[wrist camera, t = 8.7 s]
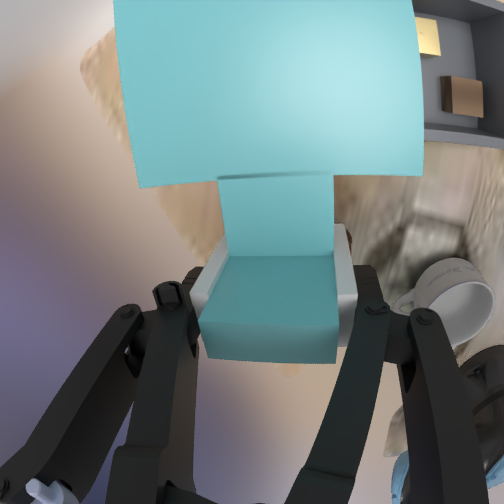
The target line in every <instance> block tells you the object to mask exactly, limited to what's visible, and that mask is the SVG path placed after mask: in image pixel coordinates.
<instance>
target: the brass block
mask: <svg viewBox="0 0 504 504" xmlns="http://www.w3.org/2000/svg"><path fill="white" fill-rule="evenodd" d="M415 22H416V29H417V36H418V44H419V52H420V57H425V58H434V57H438V56H441V52H440V44H439V36H438V29H437V23H436V20H432V19H426V18H420V17H415Z"/></svg>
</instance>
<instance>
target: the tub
mask: <svg viewBox="0 0 504 504" xmlns="http://www.w3.org/2000/svg"><path fill="white" fill-rule="evenodd" d="M412 5H413V11H414V16H415V17H420V18H426V19H432V20H436V23H437V29H438V36H439V44H440V52H441V56H438V57H434V58H425V57H420V61H421V73H422V86H423V107H424V141H436V142H448V143H458V144H467V145H475V146H483V147H490V148H497V149H504V3H501V2H499V1H496V0H412ZM440 76H456V77H462V78H467V79H472V80H477V81H482V88H483V118H482V117H475V116H469V115H462V114H455V113H449V112H444V111H442V100H441V81H440Z"/></svg>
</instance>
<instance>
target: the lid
mask: <svg viewBox="0 0 504 504" xmlns="http://www.w3.org/2000/svg"><path fill="white" fill-rule="evenodd" d="M113 3H114V18H115V32H116V43H117V53H118V62H119V71H120V79H121V86H122V94H123V100H124V107H125V113H126V120H127V125H128V131H129V137H130V142H131V148H132V153H133V158H134V163H135V168H136V172H137V178H138V182H139V187H140V188H147V187H155V186H164V185H173V184H183V183H194V182H205V181H217V183H218V189H219V196H220V203H221V209H222V216H223V222H224V228H225V235H226V241H227V247H228V251H229V258H228V260H227V262H226V264H225V266H224V268H223V270H222V272H221V275H220V277H219V279H218V281H217V283H216V285H215V287H214V289H213V291H212V293H211V295H210V297H209V299H208V301H207V303H206V305H205V307H204V309H203V311H202V313H201V315H200V317H199V319H198V324H199V327H200V331H201V334H202V338H203V341H204V345H205V348H206V352H207V355H208V358H213V359H224V360H238V361H253V362H272V363H304V364H335V363H336V355H337V345H338V334H339V312H338V301H337V290H336V278H335V266H334V256H333V252H334V182H333V175H400V176H423V159H424V107H423V86H422V73H421V61H420V52H419V44H418V36H417V29H416V22H415V16H414V11H413V5H412V0H113Z"/></svg>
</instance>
